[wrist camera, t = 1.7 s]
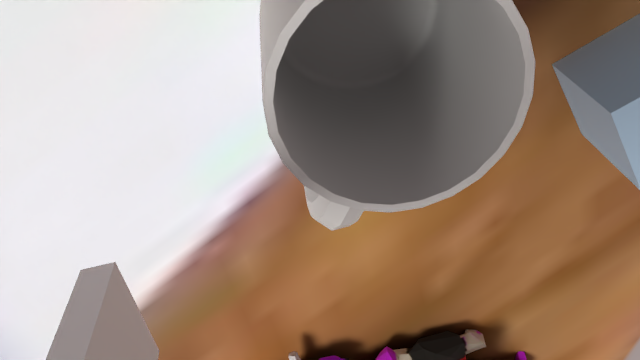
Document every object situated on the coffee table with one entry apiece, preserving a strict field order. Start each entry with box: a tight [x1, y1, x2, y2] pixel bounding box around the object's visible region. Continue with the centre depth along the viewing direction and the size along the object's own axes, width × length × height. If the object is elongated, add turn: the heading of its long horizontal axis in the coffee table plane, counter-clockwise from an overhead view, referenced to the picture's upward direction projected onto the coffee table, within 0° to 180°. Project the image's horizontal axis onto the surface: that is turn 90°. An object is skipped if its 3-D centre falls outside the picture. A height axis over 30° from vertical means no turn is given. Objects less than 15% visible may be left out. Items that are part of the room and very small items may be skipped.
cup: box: [260, 0, 535, 230], centre depth 20 cm, size 7×10×9 cm
